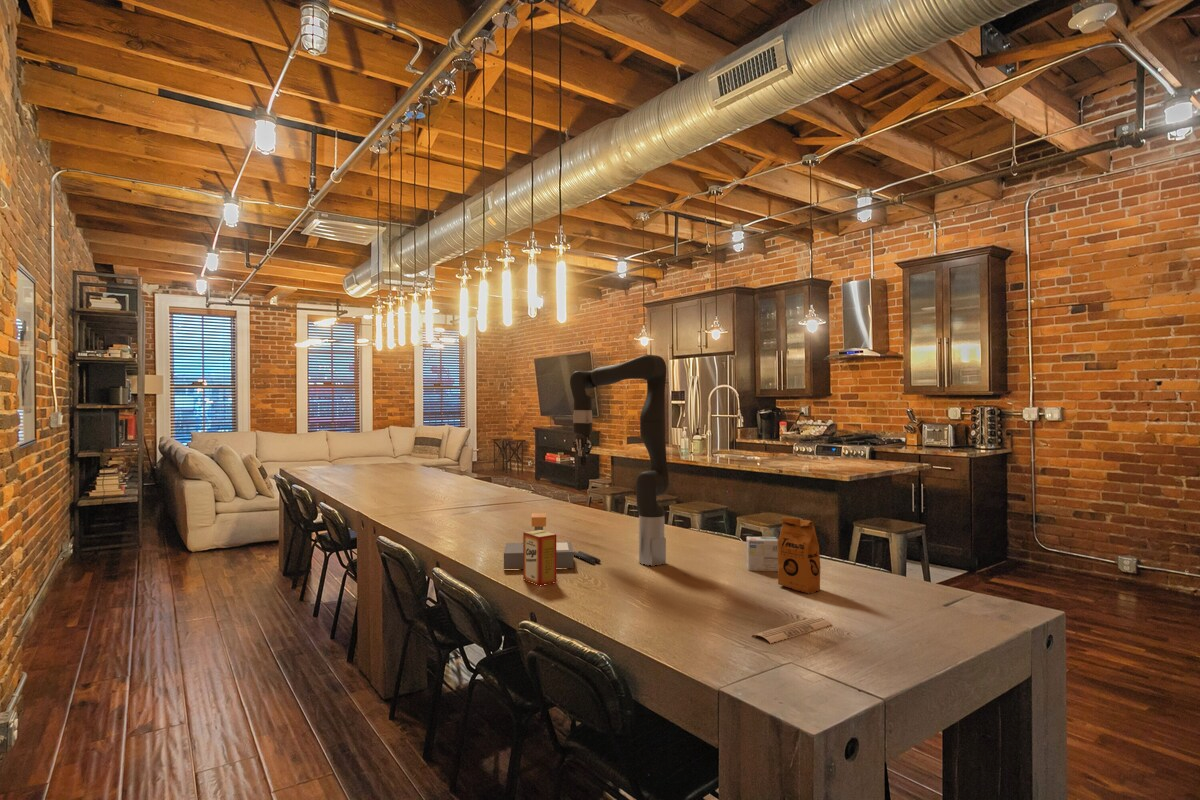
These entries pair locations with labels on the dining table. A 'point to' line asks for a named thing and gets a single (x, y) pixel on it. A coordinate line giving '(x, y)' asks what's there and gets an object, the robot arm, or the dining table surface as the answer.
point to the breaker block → (515, 555)
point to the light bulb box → (762, 553)
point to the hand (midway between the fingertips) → (582, 465)
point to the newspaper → (793, 629)
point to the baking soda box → (539, 557)
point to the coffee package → (798, 556)
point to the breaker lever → (538, 520)
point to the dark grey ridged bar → (587, 557)
